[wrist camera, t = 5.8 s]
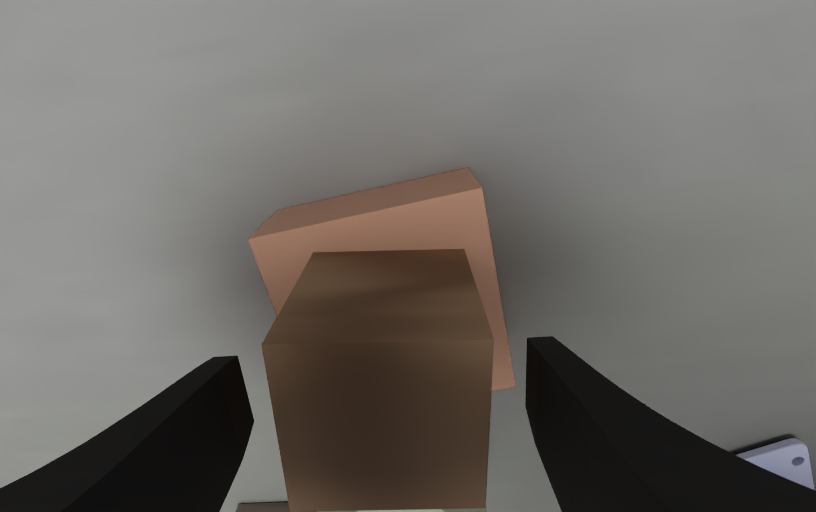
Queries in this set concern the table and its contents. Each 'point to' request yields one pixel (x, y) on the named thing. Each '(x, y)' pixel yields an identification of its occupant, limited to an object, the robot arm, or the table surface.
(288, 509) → the card
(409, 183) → the base block
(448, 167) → the table surface
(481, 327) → the walnut block
